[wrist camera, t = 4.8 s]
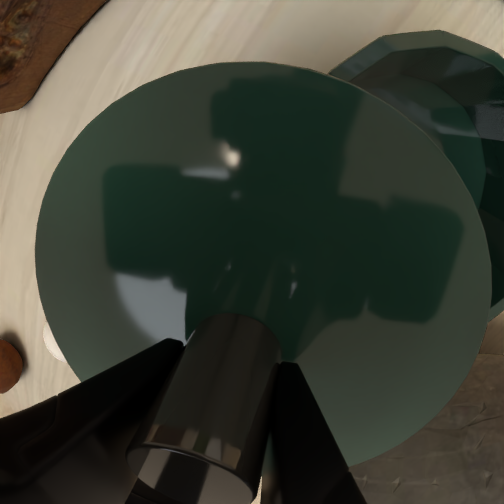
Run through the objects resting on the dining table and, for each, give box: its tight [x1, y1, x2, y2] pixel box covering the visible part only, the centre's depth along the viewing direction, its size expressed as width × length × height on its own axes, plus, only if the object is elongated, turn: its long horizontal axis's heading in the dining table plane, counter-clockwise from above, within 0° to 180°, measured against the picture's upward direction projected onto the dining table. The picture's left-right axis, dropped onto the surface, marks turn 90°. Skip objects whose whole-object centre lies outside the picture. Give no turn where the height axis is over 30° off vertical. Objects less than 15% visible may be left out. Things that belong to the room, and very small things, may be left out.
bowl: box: [348, 354, 504, 504], centre depth 16 cm, size 21×21×15 cm
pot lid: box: [35, 62, 492, 504], centre depth 7 cm, size 14×14×5 cm
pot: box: [327, 30, 504, 322], centre depth 13 cm, size 12×12×8 cm
